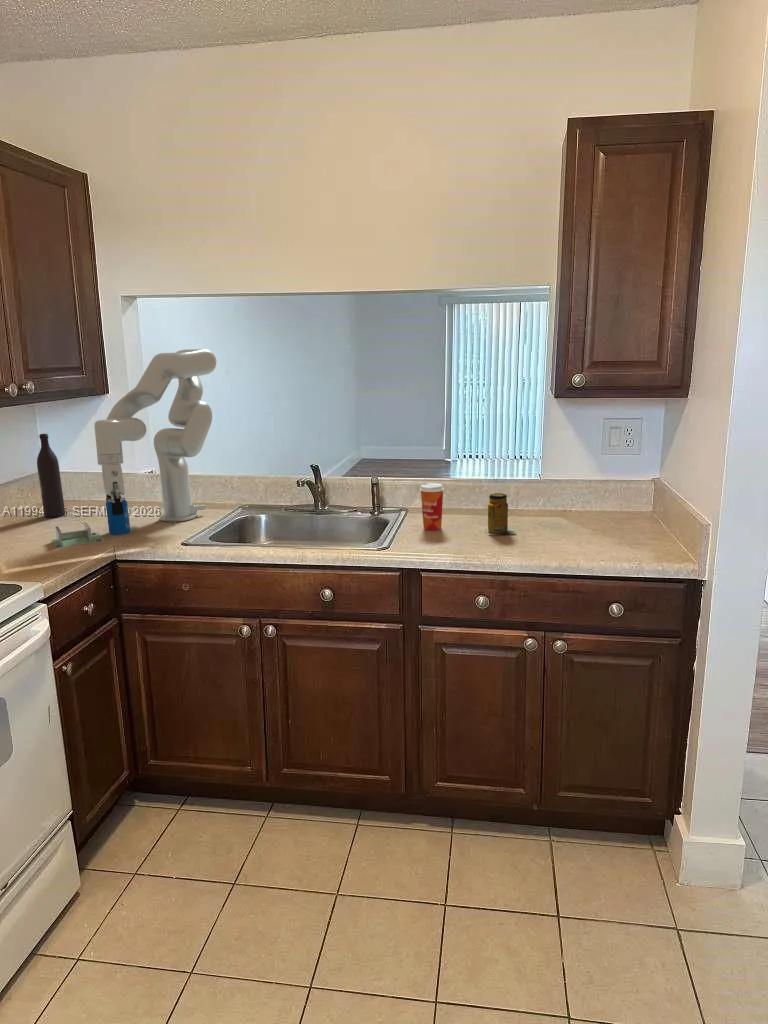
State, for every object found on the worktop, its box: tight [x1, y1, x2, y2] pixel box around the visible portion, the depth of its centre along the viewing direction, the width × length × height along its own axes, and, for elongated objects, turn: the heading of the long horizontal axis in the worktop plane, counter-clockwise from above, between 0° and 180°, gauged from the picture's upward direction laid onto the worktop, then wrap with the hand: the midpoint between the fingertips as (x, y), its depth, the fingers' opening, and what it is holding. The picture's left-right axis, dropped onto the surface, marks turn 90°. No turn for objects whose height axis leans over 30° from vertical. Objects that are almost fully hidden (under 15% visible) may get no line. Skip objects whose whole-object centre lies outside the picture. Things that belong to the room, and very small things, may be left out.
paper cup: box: [419, 482, 445, 531], centre depth 226 cm, size 8×8×14 cm
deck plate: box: [51, 532, 105, 550], centre depth 223 cm, size 14×12×1 cm
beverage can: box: [105, 496, 131, 536], centre depth 229 cm, size 6×6×12 cm
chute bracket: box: [55, 521, 92, 546], centre depth 221 cm, size 9×9×4 cm
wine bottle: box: [36, 433, 66, 519], centre depth 257 cm, size 7×7×30 cm
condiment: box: [485, 492, 517, 536], centre depth 219 cm, size 7×8×12 cm
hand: (115, 512), depth 228 cm, fingers open, 9 cm apart
